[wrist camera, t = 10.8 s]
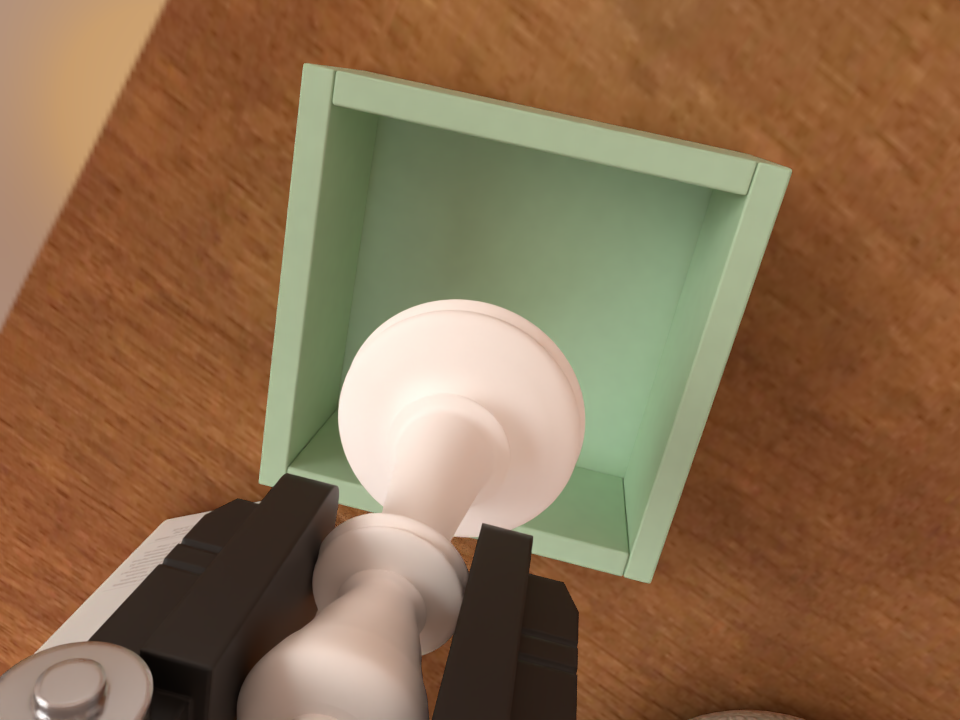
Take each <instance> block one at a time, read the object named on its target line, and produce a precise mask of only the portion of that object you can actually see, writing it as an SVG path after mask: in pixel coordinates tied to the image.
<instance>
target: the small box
mask: <svg viewBox="0 0 960 720" xmlns="http://www.w3.org/2000/svg"><path fill="white" fill-rule="evenodd" d="M260 502H261V501H259V502H254V503H258V504H259V503H260ZM209 512H211V511H209ZM209 512H203V513H198V514H193V515H188V516H183V517H178V518H173V519H167V520H165V521H164V522H163V523H161V524H160V526H159V527H158V528H157V529H156V530H155V531H154V532H153V533H152V534H151V535H150V536H149V537H148V538H147V539H146V540H145V541H144V542H143V543H142V544H141V545H140V546H139V547H138V548H137V549H136V550H135V551H134V552H133V553H132V554H131V555H130V556H129V557H128V558H127V559H126V560H125V561H124V562H123V563H122V564H121V565H120V566H119V567H118V568H117V569H116V570H115V572H114V573H113V574H112V575H111V576H110V577H109V578H108V579H107V580H106V581H105V582H104V583H103V584H102V585H101V586H100V587H99V588H98V589H97V590H96V591H95V592H94V593H93V594H92V595H91V596H90V597H89V598H88V599H87V600H86V601H85V602H84V603H83V604H82V605H81V606H80V607H79V608H78V609H77V610H76V611H75V613H74V614H73V615H72V616H71V617H70V618H69V619H68V620H67V621H66V622H65V623H64V624H63V625H62V626H61V627H60V628H59V629H58V630H57V631H56V632H55V633H54V634H53V635H52V636H51V637H50V638H49V639H48V640H47V641H46V642H45V643H44V644H43V645H42V646H41V647H40V648H39V649H38V650H37V651H36V652H35V653H34V654H36V653H38V652H40V651H42V650H45V649H48V648H51V647H54V646H58V645H63V644H67V643H73V642H82V641H88V640H89V639H90V638H91V636H92V635H93V634H94V633H95V632H96V631H97V630H98V629H99V628H100V627H101V626H102V625H103V624H104V623H105V621H106V620H107V619H108V618H109V617H110V616H111V615H112V614H113V613H114V612H115V611H116V610H117V609H118V607H119V606H120V605H121V604H122V603H123V602H124V601H125V600H126V599H127V598H128V597H129V596H130V595H131V593H132V592H133V591H134V590H135V589H136V588H137V587H138V586H139V585H140V584H141V583H142V582H143V581H144V579H145V578H146V577H147V576H148V575H149V574H150V573H151V572H152V571H153V570H154V569H155V568H156V567H157V565H158V564H162V563H163V561H164V558H165V557H166V556H167V555H168V554H169V553H170V552H171V550H172V549H173V548H174V547H175V546H176V545H177V544H178V543H179V544H181V542H182V539H183V538H184V536H185V535H186V534H187V533H188V532H189V531H190V530H191V529H192V528H193V527H194V526H195V525H196V524H197V522H198V521H199V520H200V519H201V518H202V517H203V516H204V515H205V514H207V513H209ZM319 613H320V612H319V610H318V611H317V613H316V616H317V615H318V614H319ZM316 616H315V617H316Z"/></svg>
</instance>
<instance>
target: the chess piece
mask: <svg viewBox="0 0 960 720" xmlns="http://www.w3.org/2000/svg"><path fill="white" fill-rule="evenodd" d="M338 424H339V433H340V438H341V442H342V446H343V449H344V452H345V455H346V458H347V460H348V462H349V464H350V466H351V468H352V470H353V472H354V474H355V475H356V477H357V478H358V480H359V481H360V483H361V484H362V485H363V487H364V488H365V489H366V490H367V492H368V493H369V494H370V495H371V496H372V497H373V498H374V499H375V500H376V501H377V502H378V503H379V504H380V505H382V506H383V510H382V513H370V514H364V515H360V516H357V517H354V518H351V519H349V520H347V521H345V522H343V523H341V524H340V525H338V526H337V527H336V528H334V529H333V530H332V531H331V532H330V533H329V534H328V535H327V536H326V538H325V539H324V540H323V542H322V543H321V546H320V550H319V555H318V560H317V562H316V564H315V567H314V571H313V577H312V589H313V595H314V599H315V602H316V605H317V608H318V610H319V612H320V613H319V614H318V615H317V616H316V617H315V618H314V619H313V620H312V621H311V622H309V623H308V624H307V625H305V626H304V627H303V628H301V629H300V630H298V631H296V632H294V633H293V634H291V635H289V636H288V637H286V638H285V639H284V640H282V641H281V642H280V643H279V644H277V645H276V646H275V647H274V648H272V649H271V650H270V651H269V652H268V653H267V654H266V655H264V656H263V657H262V658H261V659H260V660H259V661H258V662H257V663H256V665H255V666H254V667H253V668H252V669H251V671H250V672H249V674H248V675H247V677H246V678H245V680H244V682H243V684H242V687H241V689H240V692H239V696H238V700H237V720H429V711H428V701H427V694H426V690H425V686H424V683H423V677H422V669H421V661H422V655H425V654H428V653H430V652H432V651H434V650H436V649H438V648H439V647H441V646H442V645H443V644H444V643H446V642H447V641H448V640H449V639H450V638H451V637H452V635H453V634H454V631H455V627H456V623H457V619H458V615H459V612H460V608H461V604H462V600H463V596H464V592H465V588H466V584H467V580H468V576H469V572H468V569H467V567H466V565H465V562H464V560H463V559H462V557H461V555H460V554H459V552H458V551H457V549H456V548H455V547H454V546H453V545H452V543H451V542H450V541H451V539H452V538H453V536H454V537H479V533H480V530H481V526H482V523H485V524H489V525H493V526H497V527H501V528H505V529H509V530H511V529H514V528H516V527H519V526H521V525H523V524H525V523H527V522H528V521H530V520H532V519H533V518H535V517H536V516H538V515H539V514H540V513H542V512H543V511H544V510H545V509H546V508H547V507H549V506H550V505H551V504H552V503H553V502H554V500H555V499H556V498H557V497H558V496H559V494H560V493H561V492H562V490H563V489H564V487H565V486H566V484H567V482H568V481H569V479H570V477H571V475H572V472H573V470H574V468H575V465H576V462H577V460H578V457H579V455H580V452H581V448H582V444H583V440H584V433H585V407H584V401H583V396H582V392H581V388H580V385H579V383H578V380H577V377H576V375H575V373H574V371H573V369H572V367H571V365H570V363H569V362H568V360H567V359H566V357H565V356H564V354H563V353H562V352H561V350H560V349H559V348H558V347H557V345H556V344H555V343H554V342H553V341H552V340H551V339H550V338H549V337H548V336H547V335H546V334H545V333H544V332H543V331H541V330H540V329H539V328H538V327H536V326H535V325H534V324H532V323H531V322H529V321H528V320H526V319H525V318H523V317H521V316H519V315H517V314H515V313H513V312H511V311H509V310H507V309H504V308H502V307H499V306H496V305H492V304H489V303H485V302H480V301H473V300H463V299H449V300H439V301H432V302H428V303H424V304H420V305H417V306H414V307H411V308H409V309H407V310H404V311H402V312H400V313H398V314H397V315H395V316H393V317H392V318H390V319H389V320H387V321H386V322H384V323H383V324H382V325H381V326H379V327H378V328H377V329H376V330H375V331H374V332H373V333H372V334H371V335H370V336H369V337H368V338H367V340H366V341H365V342H364V343H363V345H362V346H361V348H360V349H359V351H358V352H357V354H356V356H355V358H354V360H353V362H352V364H351V367H350V369H349V371H348V373H347V375H346V378H345V380H344V383H343V386H342V390H341V394H340V399H339V408H338Z"/></svg>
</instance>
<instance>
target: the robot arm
mask: <svg viewBox="0 0 960 720" xmlns="http://www.w3.org/2000/svg"><path fill="white" fill-rule="evenodd" d="M338 502H339V488H338V486H337V485H333V484H329V483H325V482H321V481H317V480H313V479H309V478H305V477H301V476H297V475H293V474H289V473H285V474H284V475H283V476H282V477H281V478H280V479H279V480H278V481H277V483H276V484H275V485H274V486H273V488H272V489H271V490H270V491H269V492H268V494H267V495H266V496H265V497H264V499H263V500H262V501H261V502H260V503H259V504H258V503H254V502H250V501H246V500H242V499H236V500H234V501H232V502H230V503H228V504H226V505H223V506H221V507H219V508H217V509H215V510H213V511H211V512H209V513H207V514H205V515H204V516H203V517H202V518H201V519H200V520H199V521H198V522H197V524H196V525H195V526H194V527H193V528H192V529H191V530H190V531H189V532H188V533H187V534H186V535H185V536H184V538H183V539H182V542H181V544H179V543H178V544H177V545H176V546H175V547H174V548H173V549H172V550H171V552H170V553H169V554H168V555H167V556H166V557H165V558H164V561H163V563H162V564H158V565H157V567H156V568H155V569H154V570H153V571H152V572H151V573H150V574H149V575H148V576H147V577H146V578H145V579H144V581H143V582H142V583H141V584H140V585H139V586H138V587H137V588H136V589H135V590H134V591H133V592H132V593H131V595H130V596H129V597H128V598H127V599H126V600H125V601H124V602H123V603H122V604H121V605H120V606H119V607H118V609H117V610H116V611H115V612H114V613H113V614H112V615H111V616H110V617H109V618H108V619H107V620H106V621H105V623H104V624H103V625H102V626H101V627H100V628H99V629H98V630H97V631H96V632H95V633H94V634H93V635H92V636H91V638H90V639H89V640H88V641H82V642H73V643H67V644H63V645H58V646H54V647H51V648H48V649H45V650H42V651H40V652H38V653H36V654H33V655H31V656H29V657H27V658H26V659H24V660H22V661H20V662H19V663H17V664H16V665H14V666H13V667H12V668H10V669H9V670H8V671H6V672H5V673H4V674H3V675H2V676H1V677H0V720H237V700H238V696H239V692H240V689H241V687H242V684H243V682H244V680H245V678H246V677H247V675H248V674H249V672H250V671H251V669H252V668H253V667H254V666H255V665H256V663H257V662H258V661H259V660H260V659H261V658H262V657H263V656H264V655H266V654H267V653H268V652H269V651H270V650H271V649H272V648H274V647H275V646H276V645H277V644H279V643H280V642H281V641H282V640H284V639H285V638H286V637H288V636H289V635H291V634H293V633H294V632H296V631H298V630H300V629H301V628H303V627H304V626H305V625H307V624H308V623H309V622H311V621H312V620H313V619H314V618H315V616H316V613H317V611H318V608H317V605H316V602H315V599H314V595H313V589H312V577H313V571H314V567H315V564H316V562H317V560H318V555H319V550H320V546H321V543H322V542H323V540H324V539H325V538H326V536H327V535H328V534H329V533H330V532H331V531H332V530H333V529H334V528H335V522H336V515H337V509H338ZM532 545H533V536H532V535H529V534H525V533H521V532H517V531H513V530H509V529H505V528H501V527H497V526H493V525H489V524H485V523H482V526H481V530H480V533H479V537H478V541H477V545H476V549H475V553H474V557H473V561H472V565H471V569H470V572H469V576H468V580H467V584H466V588H465V592H464V596H463V600H462V604H461V608H460V612H459V615H458V619H457V623H456V627H455V631H454V635H453V639H452V643H451V647H450V651H449V655H448V658H447V662H446V666H445V670H444V674H443V678H442V682H441V686H440V690H439V694H438V698H437V701H436V705H435V709H434V713H433V717H432V720H576V710H577V675H576V672H577V664H578V648H577V644H578V619H579V612H578V610H577V608H576V606H575V604H574V602H573V600H572V598H571V596H570V594H569V592H568V590H567V588H566V586H565V584H564V582H560V581H556V580H552V579H548V578H544V577H540V576H536V575H533V574H529V568H530V560H531V553H532Z"/></svg>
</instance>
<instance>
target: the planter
mask: <svg viewBox="0 0 960 720" xmlns="http://www.w3.org/2000/svg"><path fill="white" fill-rule="evenodd" d="M688 720H805V719H802V718H798V717H795V716H791V715H787V714H782V713H776V712H769V711H760V710H729V711H720V712H714V713H709V714H705V715H701V716H697V717H694V718H691V719H688Z"/></svg>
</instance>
